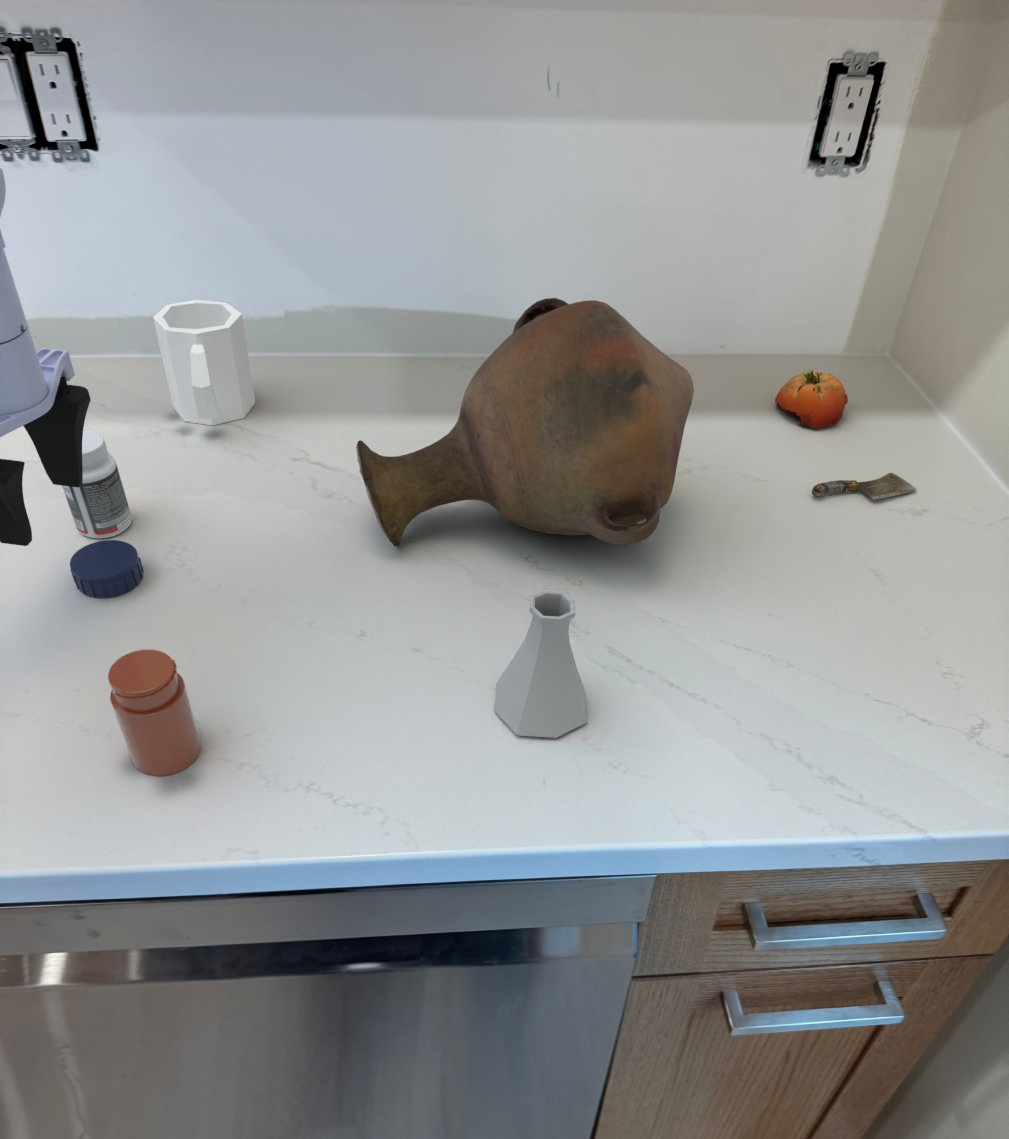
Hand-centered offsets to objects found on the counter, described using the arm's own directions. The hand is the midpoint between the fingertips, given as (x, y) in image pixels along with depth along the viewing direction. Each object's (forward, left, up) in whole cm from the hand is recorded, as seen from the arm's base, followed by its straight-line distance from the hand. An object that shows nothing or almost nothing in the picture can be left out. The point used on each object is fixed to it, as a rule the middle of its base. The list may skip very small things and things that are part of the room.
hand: (43, 511), depth 66 cm
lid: (+3, +3, -8) cm, 9 cm away
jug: (+39, -3, -10) cm, 40 cm away
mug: (+18, +27, -10) cm, 34 cm away
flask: (+29, -25, -10) cm, 39 cm away
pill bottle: (+4, +11, -10) cm, 15 cm away
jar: (+3, -18, -9) cm, 20 cm away
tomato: (+80, +3, -10) cm, 81 cm away
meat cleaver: (+74, -12, -9) cm, 76 cm away
